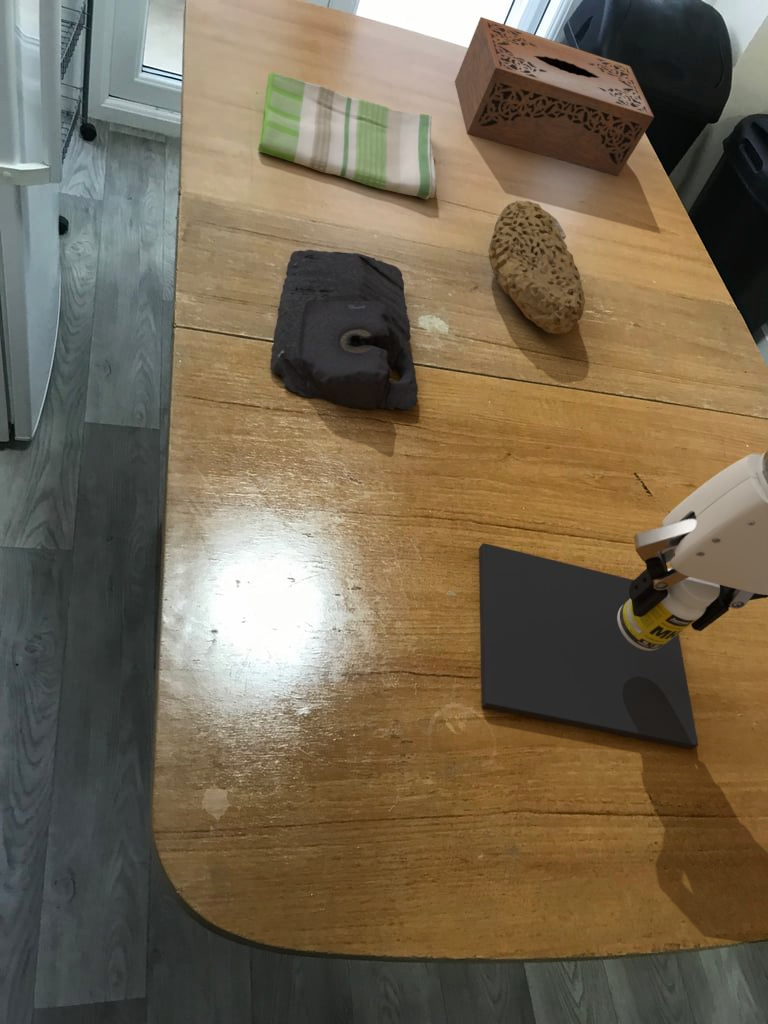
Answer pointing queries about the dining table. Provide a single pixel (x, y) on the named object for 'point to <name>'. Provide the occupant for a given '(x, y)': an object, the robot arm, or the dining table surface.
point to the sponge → (536, 267)
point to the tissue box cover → (550, 98)
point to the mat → (574, 652)
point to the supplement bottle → (667, 614)
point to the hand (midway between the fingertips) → (665, 607)
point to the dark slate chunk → (344, 331)
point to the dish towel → (348, 137)
